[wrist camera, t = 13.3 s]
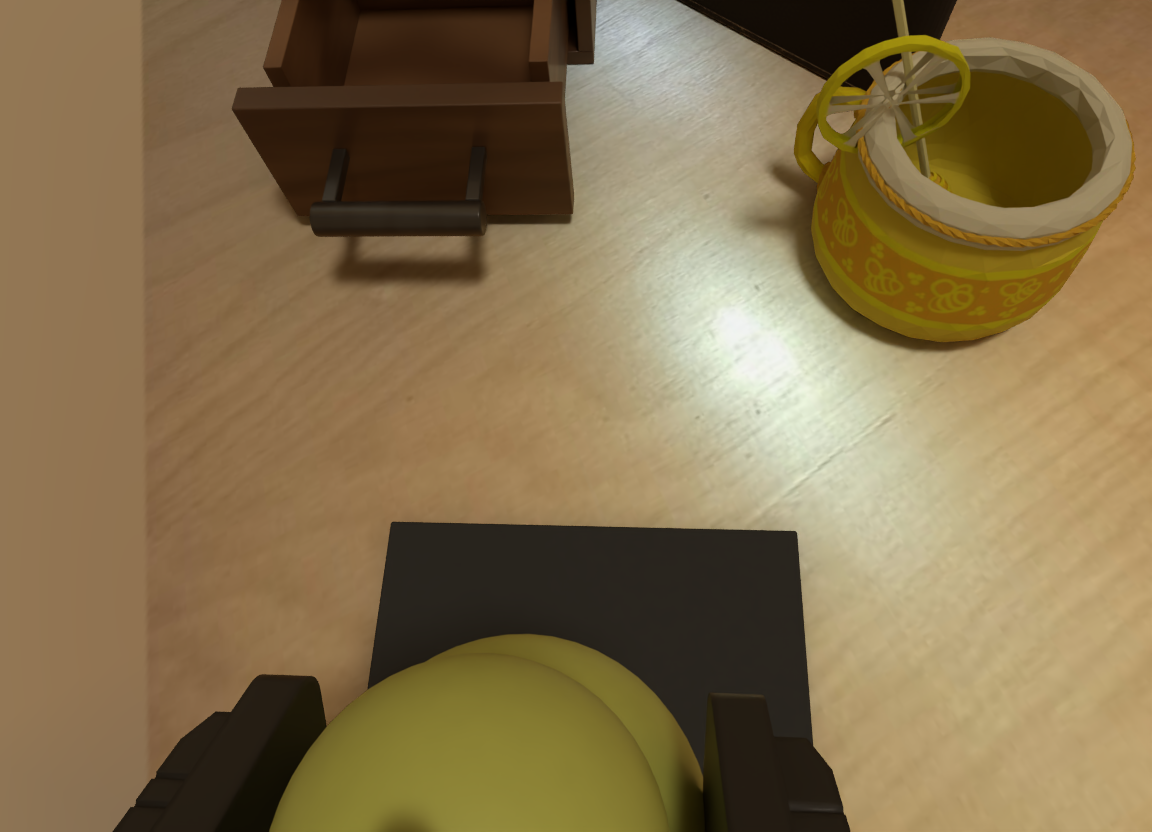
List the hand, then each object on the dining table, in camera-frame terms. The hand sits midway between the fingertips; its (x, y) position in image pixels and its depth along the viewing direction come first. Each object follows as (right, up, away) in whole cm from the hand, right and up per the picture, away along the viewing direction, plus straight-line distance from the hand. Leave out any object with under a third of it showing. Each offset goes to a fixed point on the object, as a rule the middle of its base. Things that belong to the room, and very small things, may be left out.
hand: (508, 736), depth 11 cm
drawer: (-6, +18, +28) cm, 34 cm away
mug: (+16, +12, +25) cm, 32 cm away
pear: (0, -3, +4) cm, 5 cm away
